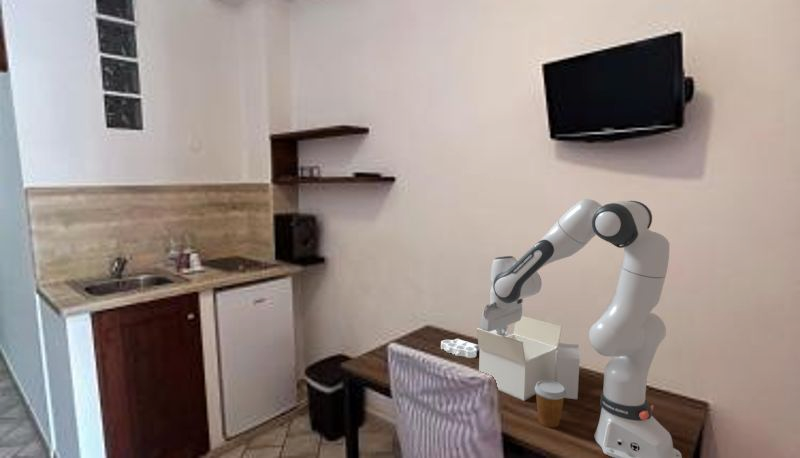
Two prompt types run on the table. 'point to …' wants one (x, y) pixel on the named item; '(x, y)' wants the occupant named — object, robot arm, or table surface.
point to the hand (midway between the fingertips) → (501, 337)
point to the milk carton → (567, 368)
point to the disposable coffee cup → (549, 402)
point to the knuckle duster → (460, 348)
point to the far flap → (538, 330)
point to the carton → (520, 367)
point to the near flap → (501, 345)
